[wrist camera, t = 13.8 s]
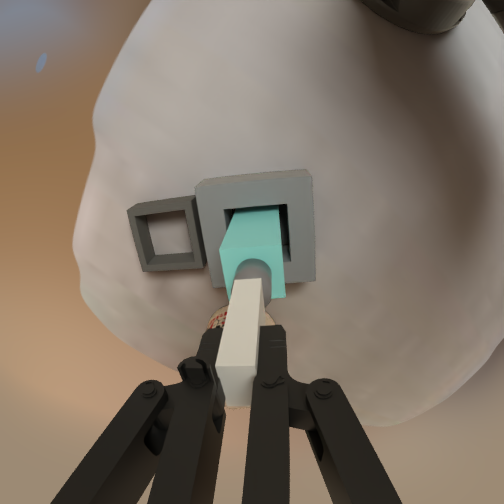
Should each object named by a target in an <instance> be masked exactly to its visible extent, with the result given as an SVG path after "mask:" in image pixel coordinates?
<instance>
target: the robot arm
mask: <svg viewBox="0 0 504 504" xmlns="http://www.w3.org/2000/svg"><path fill="white" fill-rule="evenodd" d="M361 1H362V2H363V3H364V4H365V5H367V6H368V7H369V8H370V9H372V10H373V11H374V12H376V13H377V14H378V15H380V16H381V17H383V18H385V19H386V20H388V21H390V22H392V23H393V24H395V25H397V26H400V27H402V28H404V29H407V30H410V31H413V32H417V33H422V34H439V33H442V32H445V31H447V30H449V29H452V28H454V27H456V26H457V25H458V24H459V23H460V22H461V21H462V20H463V18H464V16H465V14H466V11H467V10H468V9H469V8H470V7H471V6H472V4H473V3H474V1H475V0H361ZM482 1H483V2H484V4H485V5H486V7H487V8H488V10H489V11H490V13H491V14H492V16H493V17H494V19H495V20H496V22H497V23H498V25H499V27H500V28H501V30H502V31H503V33H504V0H482ZM265 319H266V317H265V307H264V298H263V289H262V280H261V278H257V279H241V280H235V281H234V285H233V289H232V294H231V298H230V302H229V307H228V311H227V315H226V320H225V324H224V328H209V329H208V330H207V331H206V332H205V333H204V334H203V336H202V339H201V342H200V346H199V350H198V352H197V355H196V356H195V357H189V358H187V359H184V360H183V361H182V362H181V363H180V364H179V365H178V367H177V368H178V371H179V373H180V375H181V378H182V380H183V381H182V382H180V383H177V384H173V385H168V386H163V385H162V383H161V382H159V381H157V380H148V381H145V382H143V383H141V384H140V385H139V386H138V387H137V388H136V389H135V390H134V392H133V393H132V394H131V396H130V397H129V398H128V400H127V401H126V402H125V404H124V405H123V406H122V408H121V409H120V410H119V412H118V413H117V414H116V416H115V417H114V418H113V420H112V421H111V422H110V424H109V425H108V426H107V428H106V429H105V430H104V432H103V433H102V434H101V436H100V437H99V438H98V440H97V441H96V442H95V444H94V445H93V446H92V448H91V449H90V450H89V452H88V453H87V454H86V456H85V457H84V459H83V460H82V461H81V463H80V464H79V465H78V467H77V468H76V470H75V471H74V472H73V473H72V475H71V476H70V477H69V479H68V480H67V482H66V483H65V484H64V486H63V487H62V488H61V490H60V491H59V493H58V494H57V495H56V497H55V498H54V499H53V501H52V502H51V504H137V502H138V501H139V499H140V497H141V496H142V494H143V493H144V491H145V489H146V487H147V486H148V484H149V483H150V481H151V479H152V478H153V476H154V474H155V477H154V480H153V484H152V488H151V491H150V495H149V499H148V503H147V504H213V499H214V492H215V485H216V479H217V472H218V464H219V458H220V452H221V446H222V439H223V432H224V426H225V419H226V413H225V410H224V406H225V400H226V404H227V406H251V411H250V424H249V434H248V444H247V455H246V466H245V476H244V486H243V497H242V504H289V501H290V500H289V498H290V489H289V488H290V456H289V455H290V453H289V451H290V448H289V427H293V428H298V429H303V430H305V432H306V434H307V437H308V439H309V442H310V445H311V447H312V450H313V453H314V455H315V458H316V461H317V463H318V466H319V468H320V471H321V474H322V476H323V479H324V481H325V484H326V487H327V489H328V492H329V494H330V497H331V499H332V502H333V504H402V502H401V500H400V498H399V496H398V494H397V492H396V490H395V488H394V487H393V485H392V483H391V481H390V479H389V477H388V475H387V473H386V471H385V469H384V467H383V465H382V463H381V462H380V460H379V458H378V456H377V454H376V452H375V450H374V448H373V446H372V445H371V443H370V441H369V439H368V437H367V435H366V433H365V431H364V430H363V428H362V426H361V424H360V422H359V420H358V418H357V416H356V414H355V413H354V411H353V409H352V407H351V405H350V403H349V401H348V400H347V398H346V396H345V394H344V392H343V390H342V389H341V387H340V385H339V384H338V383H337V382H335V381H333V380H331V379H326V378H323V379H317V380H315V381H313V382H311V383H310V384H305V383H301V382H297V381H296V380H294V379H292V378H291V377H290V375H289V374H288V370H287V349H286V331H285V330H284V328H283V327H282V326H281V325H267V326H265Z"/></svg>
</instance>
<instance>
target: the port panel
mask: <svg viewBox="0 0 504 504" xmlns="http://www.w3.org/2000/svg"><path fill="white" fill-rule="evenodd" d="M194 188H195V194H196V200H197V206H198V212H199V218H200V223H201V229H202V235H203V240H204V245H205V251H206V256H207V261H208V266H209V271H210V276H211V281H212V286H213V288H221V287H226V284H225V279H224V274H223V268H222V263H221V258H220V252H219V249H220V246H221V244H222V241H223V239H224V237H225V234H226V232H227V229H228V227H229V225H230V222H231V220H232V211H231V209H232V208H242V207H253V206H265V205H277V204H286V212H287V225H288V239H289V245H282V254H283V267H284V280H285V283H298V282H311V281H316V268H315V226H314V203H313V185H312V175H311V174H310V173H309V172H308V171H307V170H306V169H305V170H290V171H277V172H265V173H255V174H245V175H235V176H226V177H218V178H210V179H204V180H203V181H202V182H200V183H199V184H198V185H197V186H195V187H194Z"/></svg>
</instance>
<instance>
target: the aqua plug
mask: <svg viewBox="0 0 504 504" xmlns="http://www.w3.org/2000/svg"><path fill="white" fill-rule="evenodd" d="M219 252H220V258H221V263H222V268H223V274H224V279H225V284H226V289H227V294H228V299H229V301H230V298H231V294H232V289H233V285H234V281H235V280H241V279H257V278H261V280H262V289H263V298H264V307H266V306H267V305H268V304H269V303H270V300H271V299H273V298H285V297H286V295H285V280H284V267H283V254H282V241H281V230H280V220H279V209H278V204H277V205H265V206H253V207H242V208H236V210H235V213H234V215H233V218H232V220H231V222H230V225H229V227H228V229H227V232H226V234H225V237H224V239H223V241H222V244H221V246H220V249H219Z"/></svg>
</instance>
